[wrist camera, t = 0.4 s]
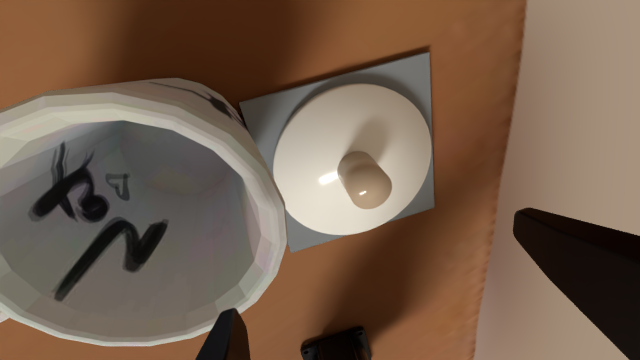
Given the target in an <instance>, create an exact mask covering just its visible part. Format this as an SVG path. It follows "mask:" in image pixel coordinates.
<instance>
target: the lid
mask: <svg viewBox="0 0 640 360" xmlns="http://www.w3.org/2000/svg"><path fill="white" fill-rule="evenodd" d="M430 159H431V138H430V133H429V129H428V126H427V124H426V122H425V119H424V118H423V116H422V115H421V113H420V111H419V110H418V109H417V108H416V107H415V106H414V104H413V103H411V102H410V101H409V100H408V99H407V98H405V97H404V96H402V95H400V94H398V93H397V92H395V91H393V90H391V89H388V88H386V87H383V86H380V85H376V84H370V83H349V84H344V85H340V86H336V87H333V88H330V89H327V90H325V91H323V92H321V93H319V94H317V95H316V96H314V97H313V98H311V99H310V100H308V101H307V102H306V103H304V104H303V105H302V106H301V107H300V108H299V109H298V110H297V111H296V112H295V113H294V114H293V115H292V116H291V118H290V119H289V120H288V122H287V123H286V125H285V126H284V128H283V130H282V132H281V134H280V136H279V138H278V141H277V144H276V147H275V151H274V156H273V177H274V180H275V183H276V185H277V187H278V189H279V191H280V193H281V195H282V197H283V199H284V201H285V208H286V210H287V211H288V212H289V214H290V215H291V216H292V217H293V218H294V219H296V220H297V221H298V222H299V223H301V224H302V225H304V226H306V227H308V228H310V229H312V230H315V231H318V232H321V233H326V234H332V235H350V234H356V233H361V232H365V231H368V230H371V229H373V228H376V227H378V226H380V225H382V224H384V223H386V222H387V221H389V220H390V219H392V218H393V217H395V216H396V215H397V214H399V213H400V212H401V211H402V210H403V209H404V208H405V207H406V206H407V205H408V204H409V203H410V202H411V201H412V200H413V198H414V197H415V195H416V194H417V193H418V191H419V189H420V188H421V186H422V184H423V182H424V180H425V177H426V175H427V172H428V169H429V165H430Z"/></svg>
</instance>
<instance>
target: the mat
mask: <svg viewBox="0 0 640 360" xmlns="http://www.w3.org/2000/svg"><path fill="white" fill-rule="evenodd" d="M349 83H370V84H376V85H380V86H383V87H386V88H388V89H391V90H393V91H395V92H397V93H398V94H400V95H402V96H404V97H405V98H407V99H408V100H409V101H410V102H411V103H413V104H414V106H415V107H416V108H417V109H418V110H419V111H420V113H421V115H422V116H423V118H424V119H425V122H426V124H427V126H428V129H429V133H430V138H431V159H430V165H429V169H428V172H427V175H426V177H425V180H424V182H423V184H422V186H421V188H420V189H419V191H418V193H417V194H416V195H415V197H414V198H413V200H412V201H411V202H410V203H409V204H408V205H407V206H406V207H405V208H404V209H403V210H402V211H401V212H400V213H399V214H397V215H396V216H395V217H393V218H392V219H390V220H389V221H387V222H391V221H394V220H397V219H400V218H403V217H406V216H410V215H413V214H416V213H419V212H422V211H425V210H429V209H432V208H434V178H433V147H432V116H431V85H430V54H429V52H423V53H419V54H416V55H412V56H408V57H405V58H401V59H397V60H393V61H390V62H386V63H382V64H379V65H375V66H371V67H368V68H364V69H360V70H357V71H353V72H349V73H345V74H342V75H338V76H334V77H331V78H327V79H323V80H320V81H316V82H312V83H309V84H305V85H301V86H298V87H294V88H290V89H286V90H283V91H279V92H275V93H272V94H268V95H264V96H261V97H257V98H253V99H250V100H246V101H242V102H239V105H240V108H241V111H242V114H243V117H244V120H245V122H246V125H247V128H248V131H249V134H250V136H251V138H252V139H253V141H254V143H255V145H256V146H257V148H258V150H259V152H260V154H261V155H262V157H263V159H264V161H265V162H266V164H267V166H268V168H269V170H270V172H271V174H272V176H273V156H274V151H275V147H276V144H277V141H278V138H279V136H280V134H281V132H282V130H283V128H284V126H285V125H286V123H287V122H288V120H289V119H290V118H291V116H292V115H293V114H294V113H295V112H296V111H297V110H298V109H299V108H300V107H301V106H302V105H303V104H304V103H306V102H307V101H308V100H310V99H311V98H313V97H314V96H316V95H317V94H319V93H321V92H323V91H325V90H327V89H330V88H333V87H336V86H340V85H344V84H349ZM273 178H274V177H273ZM286 221H287V233H288V240H287V243H288V246H289V248H290V251H291V253H293V252H296V251H299V250H302V249H305V248H308V247H312V246H315V245H318V244H321V243H324V242H327V241H331V240H334V239H337V238H340V237H343V236H346V235H332V234H326V233H321V232H318V231H315V230H312V229H310V228H308V227H306V226H304V225H302V224H301V223H299V222H298V221H297V220H296V219H294V218H293V217H292V216H291V215H290V214H289V212H288V211H287V210H286ZM387 222H386V223H387Z"/></svg>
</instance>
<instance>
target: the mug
mask: <svg viewBox="0 0 640 360" xmlns="http://www.w3.org/2000/svg"><path fill="white" fill-rule="evenodd" d="M287 240H288V233H287V221H286V208H285V201H284V199H283V197H282V195H281V193H280V191H279V189H278V187H277V185H276V183H275V180H274V178H273V176H272V174H271V172H270V170H269V168H268V166H267V164H266V162H265V161H264V159H263V157H262V155H261V154H260V152H259V150H258V148H257V146H256V145H255V143H254V141H253V139H252V138H251V136H250V134H249V132H248V131H247V129H246V127H245V125H244V124H243V122H242V120H241V118H240V116H239V115H238V113H237V111H236V110H235V109H234V108H233V107H232V106H231V105H230V104H229V103H228V102H227V101H226V100H225V99H224V97H223V96H222V95H220V94H218V93H217V92H215V91H213V90H211V89H210V88H208V87H206V86H205V85H203V84H201V83H197V82H193V81H189V80H185V79H181V78H164V79H150V80H141V81H132V82H123V83H114V84H105V85H96V86H88V87H79V88H70V89H61V90H52V91H46V92H44V93H41V94H39V95H36V96H34V97H31V98H29V99H26V100H23V101H21V102H18V103H16V104H13V105H11V106H8V107H6V108H3V109H1V110H0V323H1V322H2V321H4V320H6V319H8V318H12V319H14V320H16V321H19V322H21V323H24V324H26V325H29V326H31V327H34V328H36V329H38V330H41V331H43V332H46V333H48V334H51V335H53V336H56V337H59V338H64V339H69V340H75V341H80V342H85V343H91V344H96V345H102V346H153V345H158V344H164V343H169V342H174V341H179V340H184V339H189V338H193V337H195V336H198V335H200V334H203V333H205V332H207V331H210V330H211V329H212V327H213V326H214V324H215V322H216V320H217V318H218V316H219V314H220V313H221V312H222V311H224V310H227V309H230V308H236V309H237V310H238V312H239V314H240V313H242V312H243V311H244V310H246V309H247V308H249V307H250V306H251V305H253V304H254V303H255V302H257V300H258V299H259V298H260V296H261V295H262V294H263V292H264V291H265V290H266V288H267V287H268V286H269V284H270V283H271V282H272V280H273V279H274V278H275V276H276V275H277V273H278V269H279V266H280V263H281V260H282V257H283V253H284V250H285V247H286V244H287Z"/></svg>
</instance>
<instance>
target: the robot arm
mask: <svg viewBox="0 0 640 360" xmlns="http://www.w3.org/2000/svg"><path fill="white" fill-rule="evenodd" d="M513 234H514V236H515V238H516V240H517V241H518V242H519V243H520V245H521V246H522V247H523V248H524V249H525V251H526V252H527V253H528V254H529V255H530V257H531V258H532V259H533V260H534V261H535V262H536V264H537V265H538V266H539V268H540V269H541V270H542V271H543V272H544V273H545V275H546V276H547V277H548V278H549V279H550V280H551V281H552V282H553V283H554V284H555V285H556V286H557V287H558V288H559V289H560V290H561V291H562V292H563V293H564V294H565V295H566V296H567V297H568V298H569V299H570V300H571V301H572V302H573V303H574V304H575V305H576V307H578V309H579V310H580V311H581V312H583V314H584V315H585V316H587V318H589V320H590V321H591V322H592V323H593V324H595V326H596V327H598V328H599V330H600V331H602V333H603V334H604V335H605V336H607V338H608V339H610V341H611V342H613V344H615V346H616V347H617V348H618V349H619V350H620V351H621V352H622V353H623V354H624V355H625V356H626V357H627V358H628V359H629V360H640V236H638V235H634V234H630V233H627V232H623V231H619V230H615V229H611V228H607V227H603V226H600V225H596V224H592V223H588V222H584V221H580V220H576V219H572V218H568V217H565V216H561V215H557V214H553V213H549V212H545V211H542V210H538V209H533V208H524V209H522V210H519V211H516V213H515V215H514V225H513ZM300 351H301V355H302V357H303V360H371V356H370V351H369V347H368V342H367V338H366V334H365V330H364V328H363V327H357V328H354V329H351V330H349V331H346V332H343V333H340V334H337V335H334V336H331V337H328V338H325V339H322V340H319V341H316V342H314V343H311V344H308V345H305V346H303V347H301V349H300ZM195 360H251V359H250V351H249V343H248V334H247V329H246V326H245V323H244V321H243V320H242V318H241V316H240V314H239V312H238V310H237V309H236V308H230V309H227V310H224V311H222V312H221V313H220V314H219V316H218V318H217V320H216V322H215V324H214V326H213V327H212V329H211V331H210V333H209V335H208V337H207V339H206V340H205V342H204V344H203V346H202V348H201V350H200V352H199V353H198V355H197V357H196V359H195Z"/></svg>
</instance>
